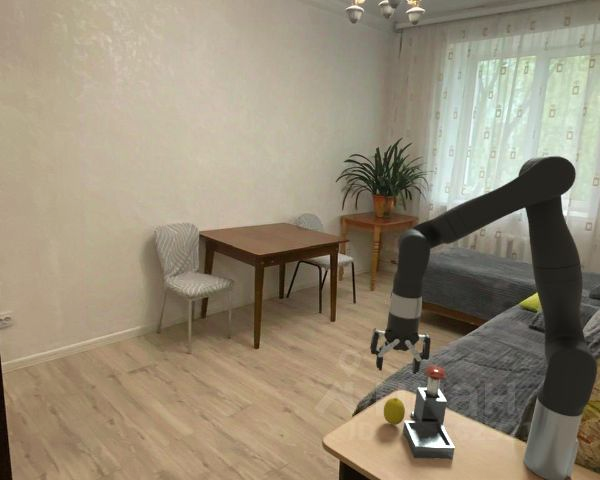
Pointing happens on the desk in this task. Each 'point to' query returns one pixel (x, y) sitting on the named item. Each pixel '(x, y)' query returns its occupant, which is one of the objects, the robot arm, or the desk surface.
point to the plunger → (434, 380)
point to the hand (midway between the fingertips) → (396, 370)
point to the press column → (429, 407)
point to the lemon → (394, 411)
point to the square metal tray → (428, 440)
